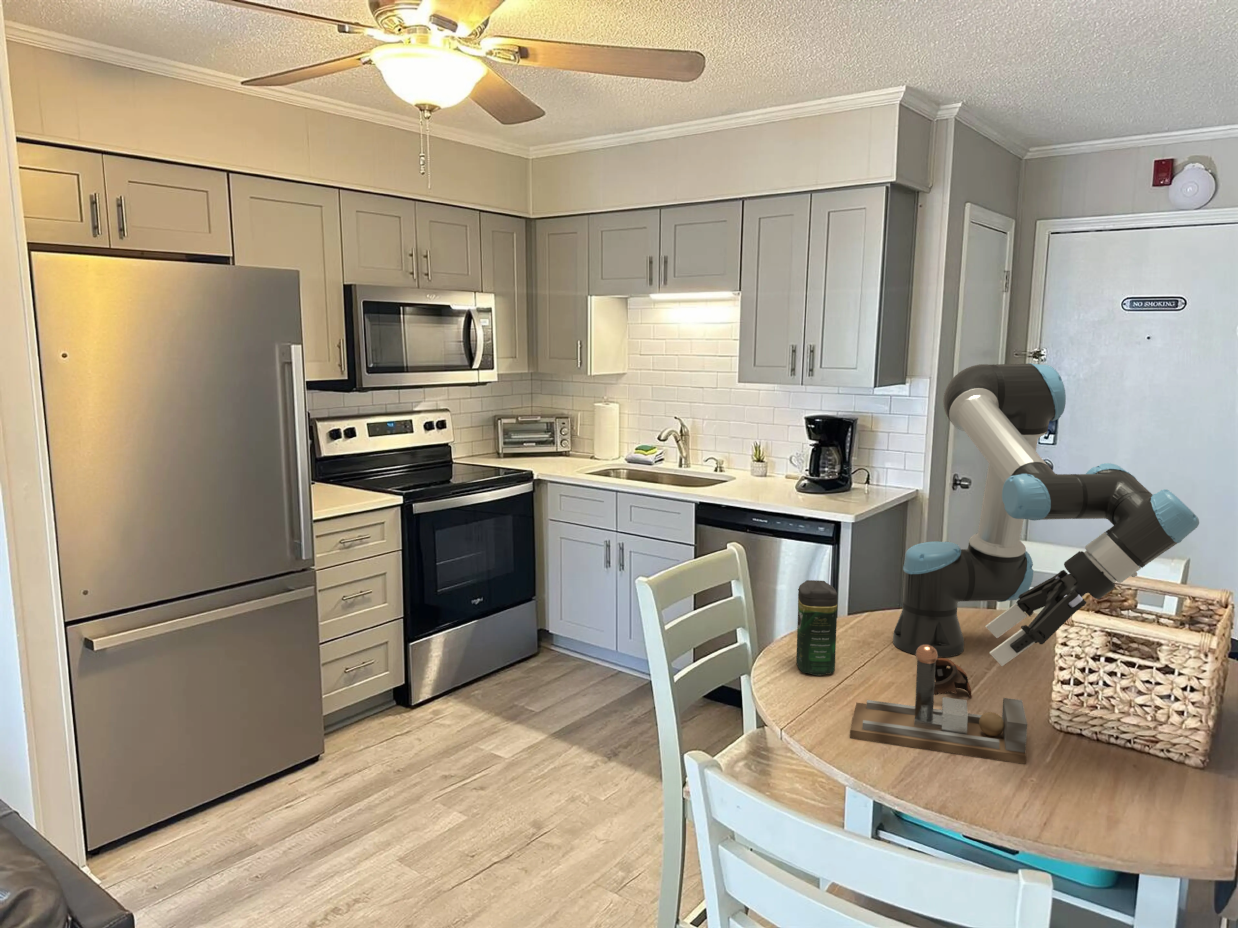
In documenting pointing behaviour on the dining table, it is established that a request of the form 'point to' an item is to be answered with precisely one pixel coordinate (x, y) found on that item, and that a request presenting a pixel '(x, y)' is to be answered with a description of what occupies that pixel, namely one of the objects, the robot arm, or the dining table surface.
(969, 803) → the dining table surface
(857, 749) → the dining table surface
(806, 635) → the coffee jar
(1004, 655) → the robot arm
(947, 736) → the press base
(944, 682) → the brown curved piece
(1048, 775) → the dining table surface
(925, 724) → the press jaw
